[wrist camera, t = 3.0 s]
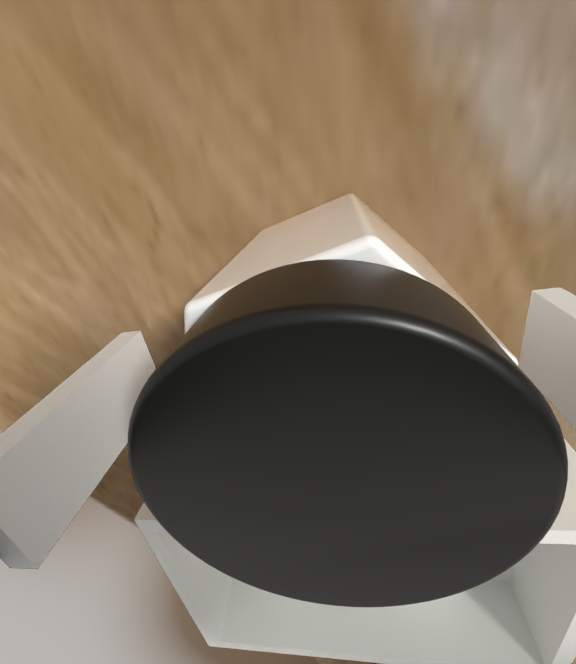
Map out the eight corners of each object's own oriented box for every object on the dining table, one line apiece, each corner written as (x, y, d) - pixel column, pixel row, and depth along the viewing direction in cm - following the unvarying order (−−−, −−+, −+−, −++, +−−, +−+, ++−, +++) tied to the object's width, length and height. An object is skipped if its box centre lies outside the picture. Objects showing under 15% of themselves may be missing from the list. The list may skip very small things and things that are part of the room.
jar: (283, 371, 20) (223, 619, 9) (220, 244, 16) (17, 396, 6) (439, 329, 17) (608, 603, 7) (401, 167, 14) (611, 196, 3)
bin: (556, 429, 19) (641, 532, 14) (516, 575, 26) (562, 681, 21) (178, 438, 23) (133, 519, 18) (230, 561, 30) (209, 646, 25)
